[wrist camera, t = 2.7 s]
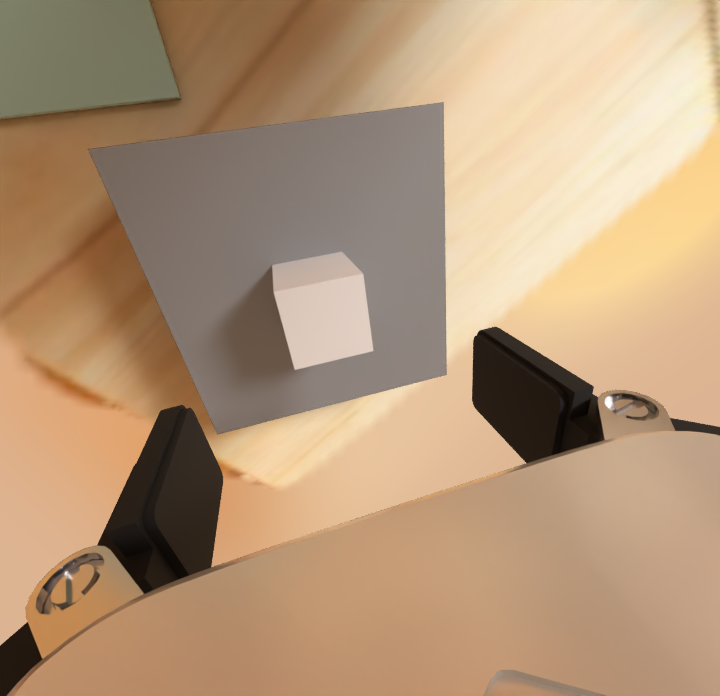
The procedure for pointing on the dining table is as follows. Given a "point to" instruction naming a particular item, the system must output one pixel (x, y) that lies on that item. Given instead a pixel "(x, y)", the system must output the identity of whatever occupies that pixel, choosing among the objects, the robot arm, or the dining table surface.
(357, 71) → the dining table surface
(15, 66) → the mat
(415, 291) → the cover
